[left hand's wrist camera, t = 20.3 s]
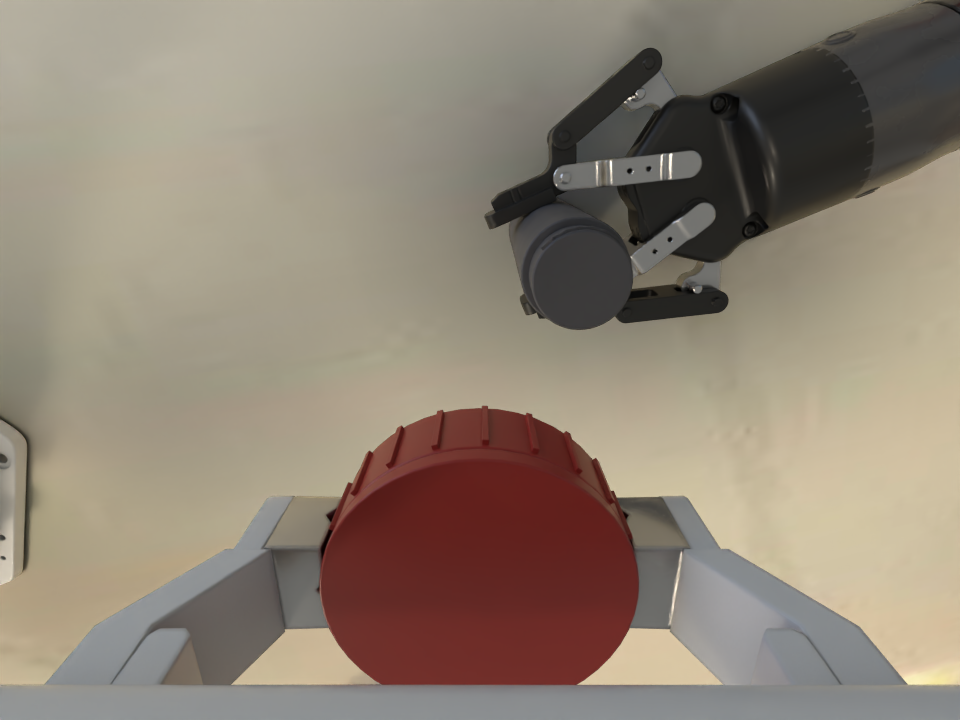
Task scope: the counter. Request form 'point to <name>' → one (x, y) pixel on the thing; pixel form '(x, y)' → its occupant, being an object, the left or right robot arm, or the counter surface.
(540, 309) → the jar
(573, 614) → the lid
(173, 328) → the counter surface
